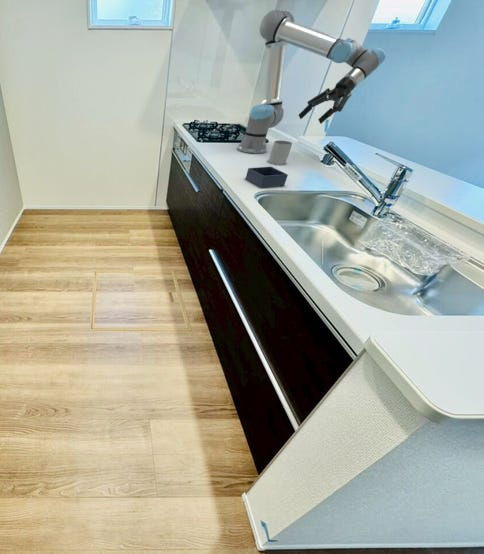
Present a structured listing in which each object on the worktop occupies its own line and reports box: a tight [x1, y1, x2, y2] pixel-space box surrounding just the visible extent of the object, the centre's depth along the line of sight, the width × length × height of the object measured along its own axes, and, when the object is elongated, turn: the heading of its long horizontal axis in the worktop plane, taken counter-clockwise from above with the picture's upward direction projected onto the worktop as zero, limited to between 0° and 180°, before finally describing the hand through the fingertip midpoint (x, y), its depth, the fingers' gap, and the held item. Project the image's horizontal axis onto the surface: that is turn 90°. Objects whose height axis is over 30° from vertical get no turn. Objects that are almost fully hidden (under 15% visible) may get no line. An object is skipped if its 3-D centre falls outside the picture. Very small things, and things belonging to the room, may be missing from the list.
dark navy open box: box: [245, 166, 289, 189], centre depth 132 cm, size 12×12×5 cm
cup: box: [267, 140, 293, 166], centre depth 155 cm, size 8×8×10 cm
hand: (309, 119), depth 148 cm, fingers open, 13 cm apart
